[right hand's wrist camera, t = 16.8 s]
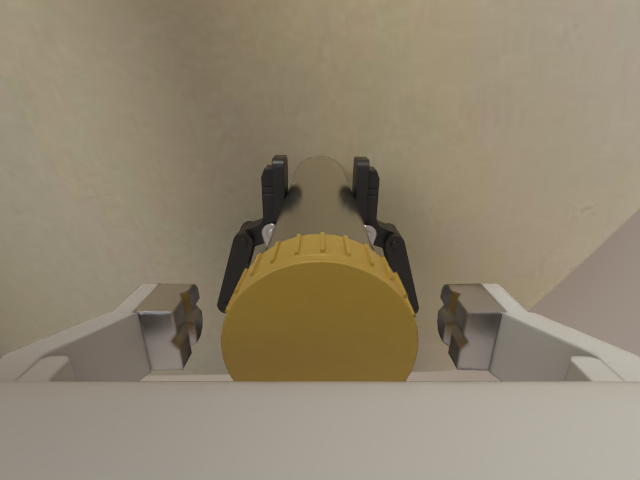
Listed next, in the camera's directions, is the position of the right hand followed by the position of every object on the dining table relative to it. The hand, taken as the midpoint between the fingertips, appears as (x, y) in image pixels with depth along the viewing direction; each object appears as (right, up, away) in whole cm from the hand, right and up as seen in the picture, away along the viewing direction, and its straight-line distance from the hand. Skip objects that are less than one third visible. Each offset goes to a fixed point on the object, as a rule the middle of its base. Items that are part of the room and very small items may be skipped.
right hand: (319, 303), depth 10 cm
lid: (0, -1, -2) cm, 2 cm away
